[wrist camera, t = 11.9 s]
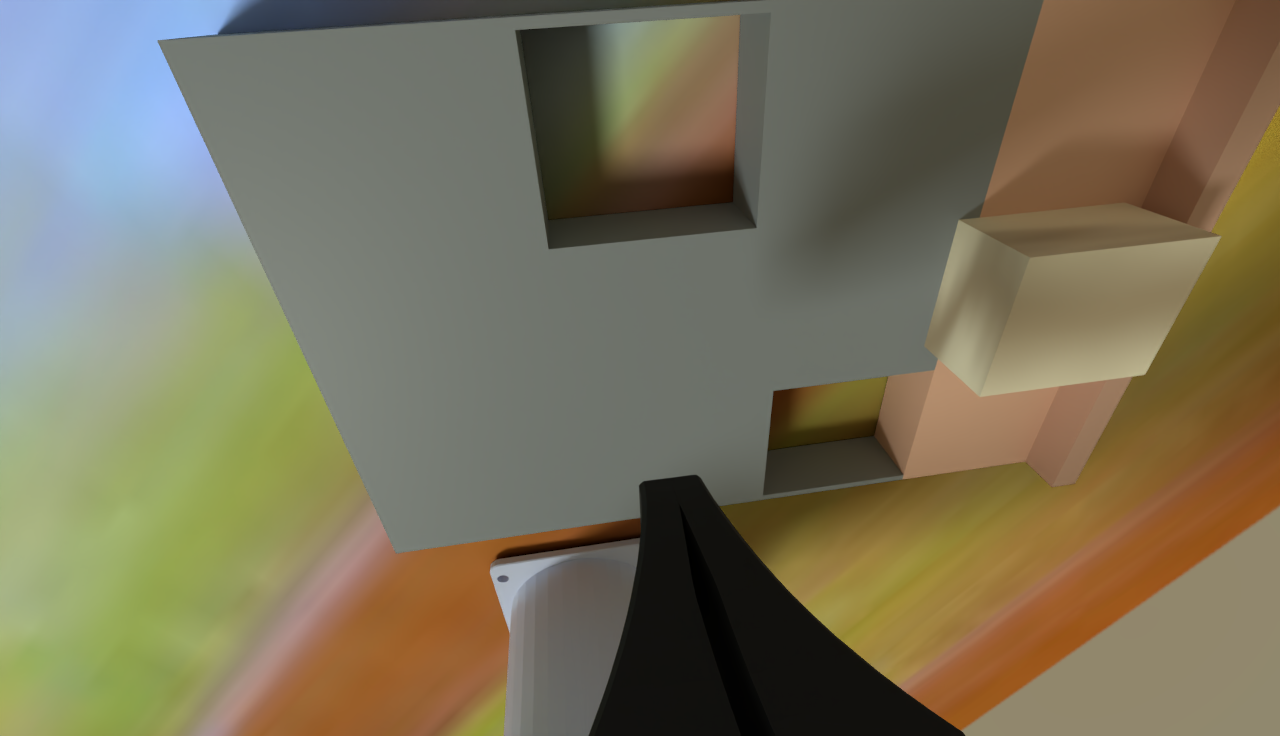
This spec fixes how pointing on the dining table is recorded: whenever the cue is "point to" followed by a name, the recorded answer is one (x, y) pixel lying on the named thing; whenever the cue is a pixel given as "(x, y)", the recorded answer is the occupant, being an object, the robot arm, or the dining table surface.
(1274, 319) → the dining table surface
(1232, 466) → the dining table surface
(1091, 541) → the dining table surface
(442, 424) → the board
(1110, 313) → the beech block
